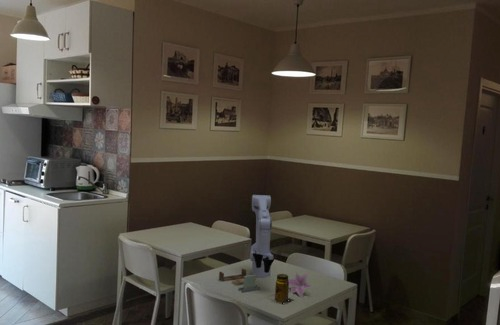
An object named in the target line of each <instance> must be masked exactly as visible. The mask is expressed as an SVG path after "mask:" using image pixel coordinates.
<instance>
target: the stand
mask: <svg viewBox="0 0 500 325" xmlns="http://www.w3.org/2000/svg"><path fill="white" fill-rule="evenodd" d="M260 290H261V287H260V286H259V287H258V285H256V284H255V288H251V289H244V290H243V286H242V287H238V291H239V292H240V293H243V294H244V293H248V292H256V291H260Z"/></svg>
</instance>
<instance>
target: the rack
mask: <svg viewBox="0 0 500 325" xmlns="http://www.w3.org/2000/svg"><path fill="white" fill-rule="evenodd" d="M218 272H219V274H218V279H219V281H220V282H230V281H234V280H238V279H243V280H244V276H247V269H245V268H241V274H234V275H228V276H227V275H226V276H225V274H224V272H223V271H218Z"/></svg>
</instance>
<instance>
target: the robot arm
mask: <svg viewBox="0 0 500 325" xmlns="http://www.w3.org/2000/svg"><path fill="white" fill-rule="evenodd" d="M271 204H272V198H271V195H264V194H263V195H262V194H252V196H251V209H252V210H251V211H252V212H254V213H255V219H256V220H255V223H256V224H255V243H253V244H252V245H251V246H250V252H249V253H250V254H249V260H250V261H251V262H252V265H251V275H256V279H262V278H267V277H271V271H272V270H271V268H272V265H273V263H274V261H275V258H274V254H272V253H271V251H270V249H271V248H270V246H271V244H270V243H271V230H272V228H273V220H272V217H271V216H270V207H271Z"/></svg>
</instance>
